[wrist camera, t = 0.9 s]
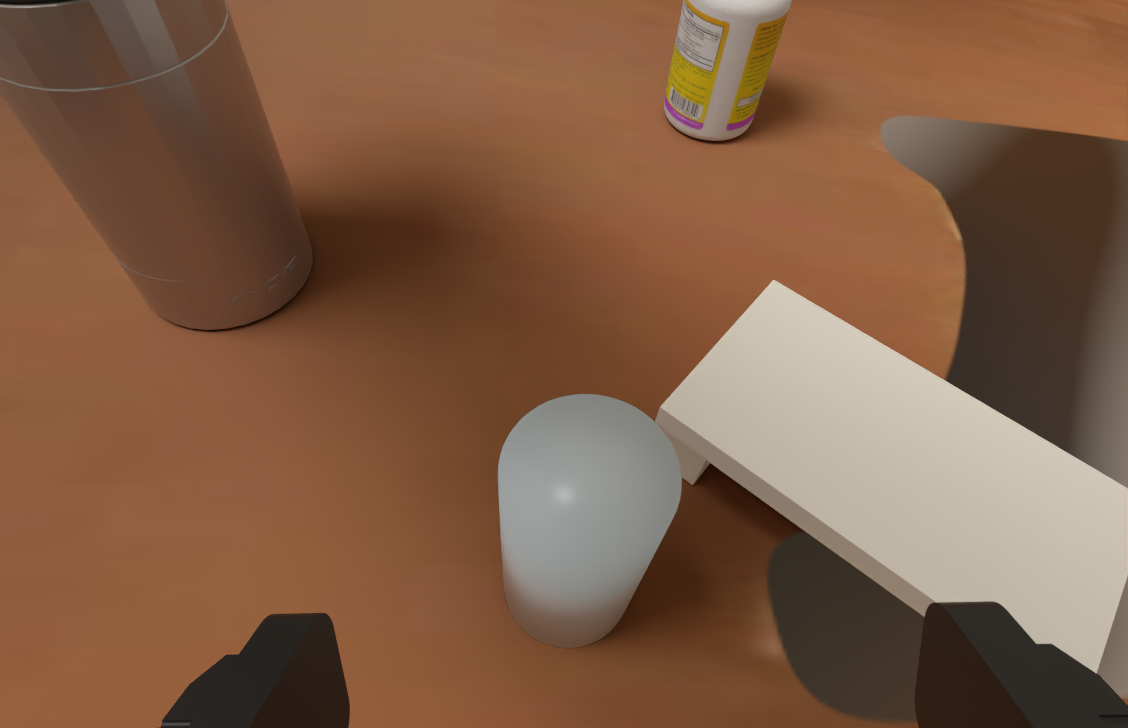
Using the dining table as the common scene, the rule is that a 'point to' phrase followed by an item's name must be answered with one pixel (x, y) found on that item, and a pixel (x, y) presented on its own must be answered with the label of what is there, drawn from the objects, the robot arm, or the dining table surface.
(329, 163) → the dining table surface
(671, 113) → the supplement bottle
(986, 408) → the white riser stand
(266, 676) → the robot arm
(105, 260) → the dining table surface
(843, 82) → the dining table surface
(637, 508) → the white rounded cylinder
